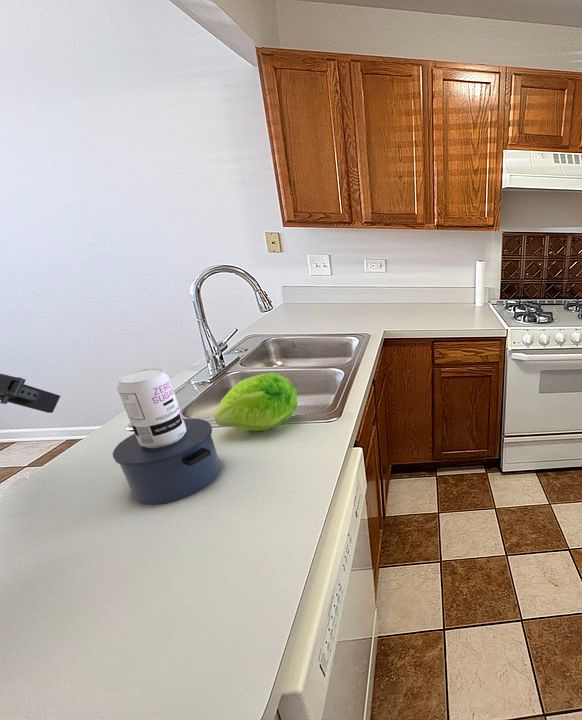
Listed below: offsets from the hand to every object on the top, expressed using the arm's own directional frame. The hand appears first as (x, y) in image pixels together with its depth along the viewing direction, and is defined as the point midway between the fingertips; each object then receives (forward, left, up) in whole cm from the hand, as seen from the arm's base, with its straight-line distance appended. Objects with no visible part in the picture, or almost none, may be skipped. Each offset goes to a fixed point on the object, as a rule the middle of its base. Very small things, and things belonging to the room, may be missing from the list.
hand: (11, 403), depth 60 cm
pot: (-12, +15, -30) cm, 35 cm away
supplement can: (-12, +15, -19) cm, 27 cm away
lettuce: (-24, +35, -30) cm, 52 cm away
